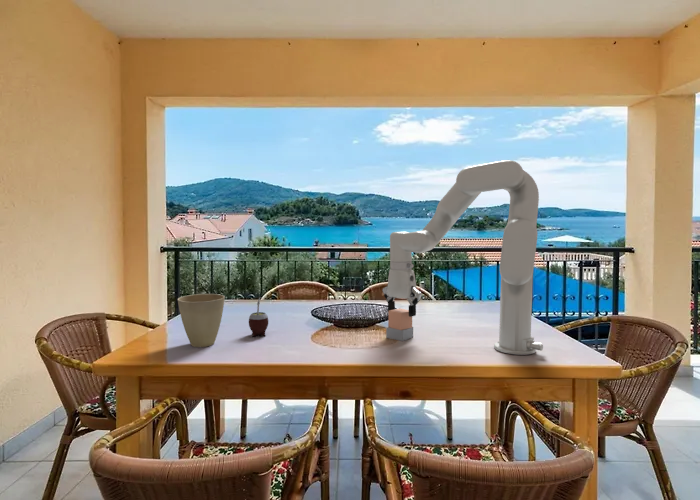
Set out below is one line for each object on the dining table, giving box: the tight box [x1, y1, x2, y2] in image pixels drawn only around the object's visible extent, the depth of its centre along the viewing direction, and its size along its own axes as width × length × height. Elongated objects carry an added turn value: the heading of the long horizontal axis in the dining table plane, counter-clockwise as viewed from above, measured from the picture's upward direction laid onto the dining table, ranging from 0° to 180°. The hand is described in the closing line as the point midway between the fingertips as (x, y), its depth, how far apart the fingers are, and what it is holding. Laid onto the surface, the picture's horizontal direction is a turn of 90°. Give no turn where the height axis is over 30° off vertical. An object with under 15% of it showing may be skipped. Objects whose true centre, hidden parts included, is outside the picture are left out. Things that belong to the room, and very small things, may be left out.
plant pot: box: [177, 293, 225, 348], centre depth 144 cm, size 15×15×16 cm
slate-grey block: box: [385, 326, 414, 342], centre depth 154 cm, size 7×7×4 cm
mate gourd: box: [248, 296, 269, 338], centre depth 155 cm, size 8×8×15 cm
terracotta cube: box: [387, 307, 413, 330], centre depth 153 cm, size 6×6×6 cm
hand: (401, 314), depth 153 cm, fingers open, 9 cm apart
